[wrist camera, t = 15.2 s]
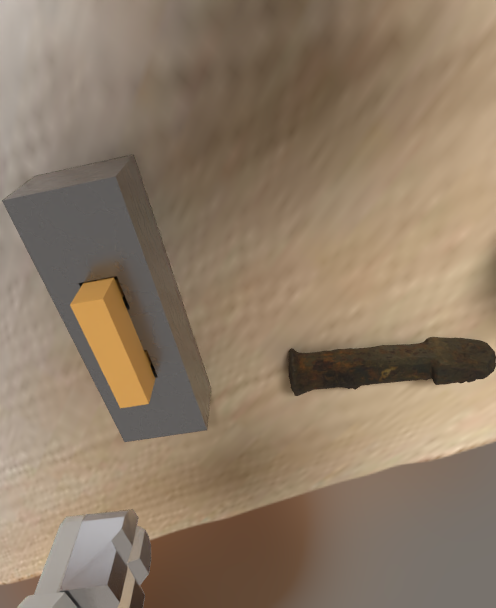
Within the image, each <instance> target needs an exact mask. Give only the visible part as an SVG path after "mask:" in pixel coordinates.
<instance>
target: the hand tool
mask: <svg viewBox="0 0 496 608" xmlns="http://www.w3.org/2000/svg"><path fill="white" fill-rule="evenodd" d="M288 367H289V379H290V383H291V389H292V391H293V392H294V394H295V396H298V395H301V394H304V393H306V392H307V391H311V390H314V389H327V388H335V387H342V388H348V389H350V388H353V389H357V388H358V387H360V386H361V385H370V384H379V383H390V382H400V381H408V380H409V381H410V380H419V379H424V380H428V379H433V381H434V383H435V384H436V385H439V384H450V383H457V382H458V383H464V382H465V381H467V382H472V381H475V380H476V379H484V378H486V377H487V376H489V375H490V374H491V373H492V372H493V371H494V369H495V367H496V356H495V352H494V351H493V349H492V348H491V347H490V346H489V345H488V344H487V343H485V342H483V341H479V340H471V339H464V338H438V337H430V338H428V339H427V340H426V341H425V342H424V343H420V344H410V345H382V346H377V347H371V348H359V349H337V350H333V351H322V352H315V353H298V352H296V351H295V350H294V349H290V351H289V366H288Z"/></svg>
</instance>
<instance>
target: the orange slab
mask: <svg viewBox="0 0 496 608" xmlns="http://www.w3.org/2000/svg"><path fill="white" fill-rule="evenodd" d="M123 295H124V293H123V290H122V288H121V285H120V283H119V280H118V278H117V276H114V277H109V278H103V279H98V280H97V281H93V282H87V283H83V284H82V286H81V288H80V289H79V291H78V293H77V294H76V296H75V297H74V299H73V301H72V302H71V304H70V306H71V308H72V310H73V312H74V314H75V316H76V318H77V320H78V322H79V324H80V327H81V329H82V331H83V333H84V335H85V337H86V339H87V341H88V343H89V345H90V347H91V349H92V351H93V353H94V355H95V357H96V359H97V361H98V364H99V366H100V368H101V370H102V372H103V374H104V376H105V378H106V380H107V382H108V384H109V386H110V388H111V390H112V392H113V394H114V396H115V398H116V401H117V403H118V405H119V407H120V408H126V407H132V406H139V405H145V404H149V402H150V398H151V394H152V390H153V386H154V382H155V376H154V374H153V372H152V369H151V367H150V366H151V362H152V361H151V359H150V356H149V354H148V352H147V350H143V347H142V345H141V342H140V340H139V338H138V335H137V333H136V330H135V328H134V325H133V323H132V321H131V318H130V316H129V313H128V311H127V308H126V306H125V303H124V301H123V299H122V298H123Z"/></svg>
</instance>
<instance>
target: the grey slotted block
mask: <svg viewBox="0 0 496 608" xmlns="http://www.w3.org/2000/svg"><path fill="white" fill-rule="evenodd" d="M2 201H3V203H4V205H5V207H6V209H7V211H8V213H9V215H10V217H11V219H12V221H13V223H14V225H15V227H16V229H17V231H18V233H19V235H20V237H21V239H22V241H23V243H24V245H25V246H26V248H27V250H28V252H29V254H30V256H31V258H32V260H33V262H34V264H35V266H36V268H37V270H38V272H39V274H40V276H41V278H42V280H43V282H44V284H45V286H46V288H47V290H48V292H49V294H50V296H51V298H52V300H53V302H54V304H55V306H56V308H57V310H58V312H59V314H60V316H61V318H62V319H63V321H64V323H65V325H66V327H67V329H68V331H69V333H70V335H71V337H72V339H73V341H74V343H75V345H76V347H77V349H78V351H79V353H80V355H81V357H82V359H83V361H84V363H85V365H86V367H87V369H88V371H89V373H90V375H91V377H92V379H93V381H94V383H95V385H96V387H97V389H98V390H99V392H100V394H101V396H102V398H103V400H104V402H105V404H106V406H107V408H108V410H109V412H110V414H111V416H112V418H113V420H114V422H115V424H116V426H117V428H118V430H119V432H120V434H121V436H122V438H123V440H124V442H128V441H135V440H142V439H149V438H156V437H163V436H169V435H176V434H183V433H190V432H197V431H204V430H207V426H208V416H209V406H210V396H211V387H210V384H209V381H208V378H207V375H206V372H205V369H204V366H203V363H202V360H201V357H200V354H199V351H198V348H197V345H196V342H195V339H194V336H193V333H192V330H191V327H190V324H189V321H188V318H187V315H186V312H185V309H184V305H183V302H182V299H181V296H180V293H179V290H178V287H177V284H176V281H175V278H174V275H173V272H172V269H171V266H170V263H169V260H168V257H167V254H166V251H165V248H164V245H163V242H162V239H161V236H160V233H159V230H158V227H157V224H156V221H155V218H154V215H153V212H152V209H151V206H150V203H149V200H148V197H147V194H146V191H145V188H144V185H143V182H142V179H141V176H140V173H139V170H138V167H137V164H136V161H135V158H134V155H130V156H125V157H120V158H116V159H111V160H107V161H102V162H97V163H93V164H88V165H83V166H79V167H74V168H69V169H65V170H60V171H56V172H51V173H46V174H42V175H37V176H34V177H33V178H31V179H30V180H29V181H27V182H26V183H25V184H23V185H22V186H21V187H19V188H18V189H17V190H15V191H14V192H13V193H11V194H10V195H9V196H7V197H6V198H5V199H3V200H2ZM114 276H117V278H118V280H119V283H120V285H121V288H122V290H123V293H124V295H123V298H122V299H123V301H124V303H125V306H126V308H127V311H128V313H129V316H130V318H131V321H132V323H133V325H134V328H135V330H136V333H137V335H138V338H139V340H140V342H141V345H142V347H143V350H147V352H148V354H149V356H150V359H151V361H152V362H151V366H150V367H151V369H152V372H153V374H154V376H155V382H154V386H153V390H152V394H151V398H150V402H149V404H145V405H139V406H132V407H126V408H120V407H119V405H118V403H117V401H116V398H115V396H114V394H113V392H112V390H111V388H110V386H109V384H108V382H107V380H106V378H105V376H104V374H103V372H102V370H101V368H100V366H99V364H98V361H97V359H96V357H95V355H94V353H93V351H92V349H91V347H90V345H89V343H88V341H87V339H86V337H85V335H84V333H83V331H82V329H81V327H80V324H79V322H78V320H77V318H76V316H75V314H74V312H73V310H72V308H71V306H70V304H71V302H72V301H73V299H74V297H75V296H76V294H77V293H78V291H79V289H80V288H81V286H82V284H83V283H87V282H93V281H97V280H98V279H103V278H109V277H114Z"/></svg>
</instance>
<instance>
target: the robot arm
mask: <svg viewBox="0 0 496 608" xmlns="http://www.w3.org/2000/svg"><path fill="white" fill-rule="evenodd" d="M137 523H138V516H137V515H136V513H135V511H134V510H133V509H131V510H122V511H113V512H105V513H96V514H85V515H78V516H70V517H66V518H65V519H64V520H63V522H62V523H61V524H60V526H59V529H58V532H57V534H56V537H55V540H54V542H53V545H52V548H51V550H50V553H49V556H48V558H47V561H46V564H45V566H44V569H43V572H42V574H41V577H40V580H39V582H38V585H37V588H36V591H35V593H34V595H31V596H27V597H26V598H25V599H24V600H23V601H22V602H21V604H20V605H19V606H18V607H17V608H143V603H144V598H145V595H144V592H143V590H142V588H141V586H140V585H141V583H142V582H143V581H144V579H145V578H146V577H147V575H148V574H149V569H150V562H151V544H150V540H149V536H148V534H147V532H146V530H145V529H143V528H141V527H139V526H137Z"/></svg>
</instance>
